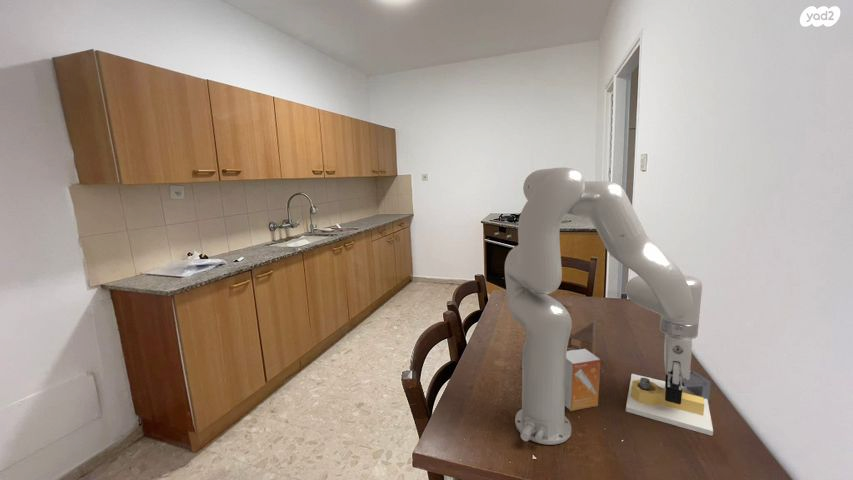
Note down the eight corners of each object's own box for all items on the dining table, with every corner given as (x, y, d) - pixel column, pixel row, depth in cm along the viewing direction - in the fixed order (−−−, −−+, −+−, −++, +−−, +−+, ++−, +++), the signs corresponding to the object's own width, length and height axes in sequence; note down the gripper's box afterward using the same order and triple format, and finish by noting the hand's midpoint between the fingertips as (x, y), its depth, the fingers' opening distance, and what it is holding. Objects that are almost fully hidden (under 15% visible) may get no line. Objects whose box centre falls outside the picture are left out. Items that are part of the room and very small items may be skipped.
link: (630, 399, 91) (631, 389, 91) (632, 387, 97) (632, 377, 96) (703, 419, 83) (705, 408, 83) (701, 405, 88) (702, 394, 88)
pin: (647, 404, 91) (649, 382, 90) (638, 401, 92) (640, 380, 91) (648, 400, 93) (649, 378, 92) (639, 397, 94) (640, 376, 93)
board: (712, 436, 80) (713, 431, 79) (625, 411, 89) (626, 406, 89) (705, 394, 94) (705, 390, 94) (631, 377, 104) (631, 373, 103)
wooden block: (591, 365, 111) (594, 310, 108) (557, 355, 118) (558, 303, 115) (595, 360, 114) (597, 306, 111) (561, 351, 121) (562, 300, 118)
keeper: (693, 391, 96) (694, 371, 95) (708, 402, 91) (710, 381, 90) (668, 393, 96) (669, 373, 95) (682, 404, 91) (684, 383, 90)
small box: (570, 412, 89) (572, 363, 87) (556, 397, 95) (557, 351, 93) (598, 406, 91) (601, 359, 89) (582, 392, 97) (584, 347, 95)
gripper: (700, 344, 77) (693, 420, 80) (695, 317, 91) (689, 383, 94) (659, 336, 81) (653, 409, 84) (660, 312, 95) (655, 375, 98)
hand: (672, 395), depth 89 cm, fingers open, 5 cm apart
